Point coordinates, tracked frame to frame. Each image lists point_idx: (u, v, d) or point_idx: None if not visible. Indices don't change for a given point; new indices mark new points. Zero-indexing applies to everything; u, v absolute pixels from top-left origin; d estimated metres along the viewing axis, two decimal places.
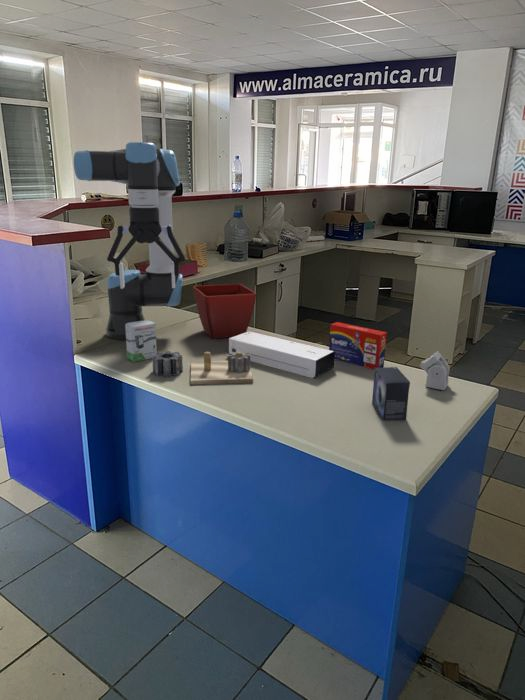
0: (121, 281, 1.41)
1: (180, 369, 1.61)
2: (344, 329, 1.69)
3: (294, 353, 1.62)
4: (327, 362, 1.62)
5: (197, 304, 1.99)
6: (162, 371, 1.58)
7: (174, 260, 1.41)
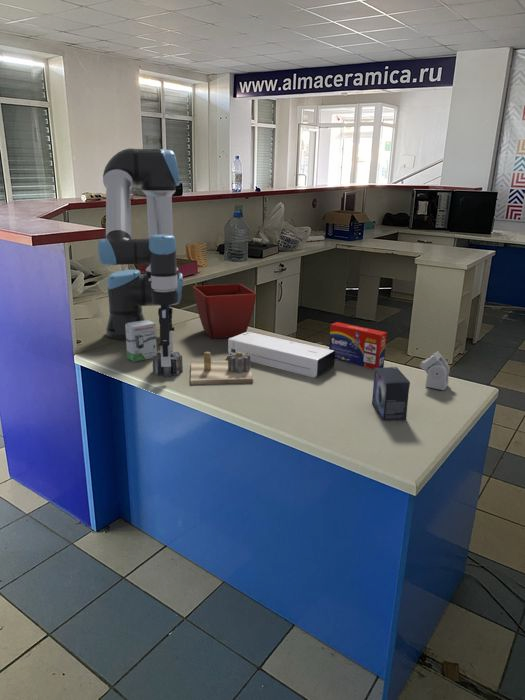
0: None
1: (180, 369, 1.61)
2: (344, 329, 1.69)
3: (295, 353, 1.62)
4: (328, 362, 1.63)
5: (197, 304, 1.99)
6: (162, 371, 1.58)
7: None
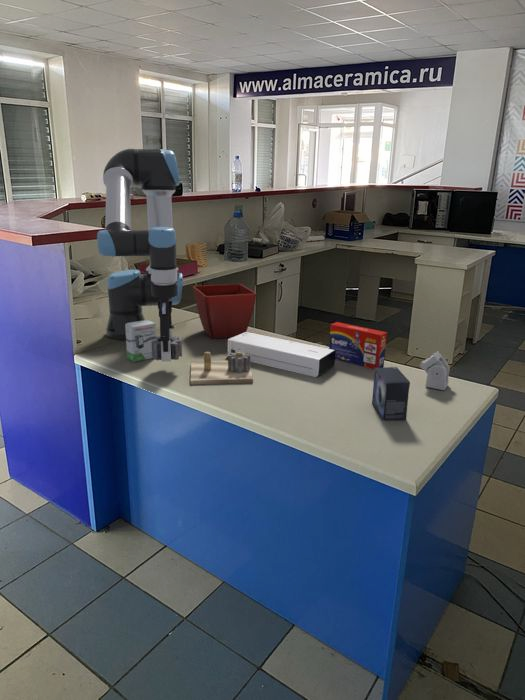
0: None
1: (179, 354, 1.60)
2: (344, 329, 1.69)
3: (296, 353, 1.62)
4: (329, 361, 1.63)
5: (197, 304, 1.99)
6: None
7: None
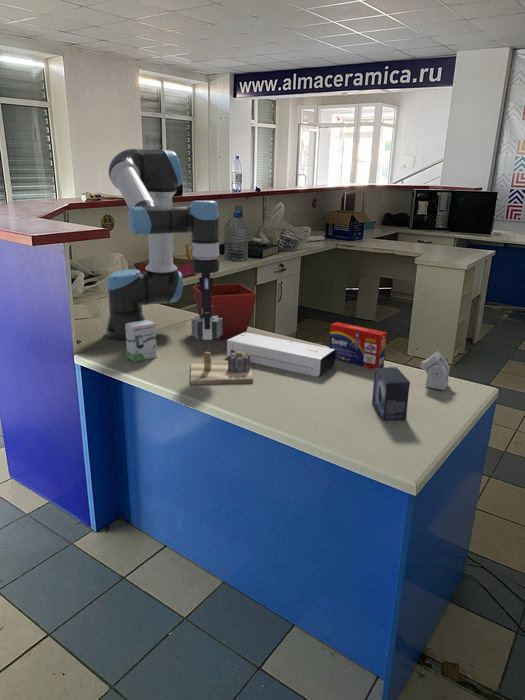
0: None
1: (220, 333, 1.55)
2: (344, 329, 1.69)
3: (297, 353, 1.62)
4: (329, 361, 1.64)
5: (197, 304, 1.99)
6: (202, 334, 1.53)
7: (202, 314, 1.48)
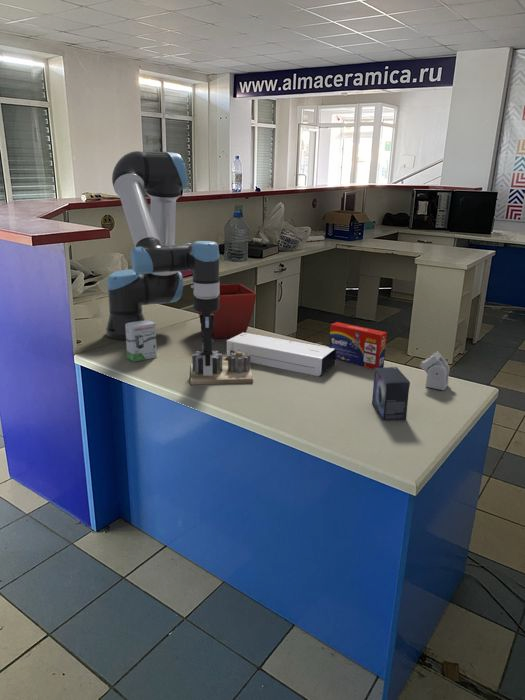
0: None
1: (220, 368, 1.59)
2: (344, 329, 1.69)
3: (298, 352, 1.62)
4: (330, 360, 1.64)
5: None
6: (202, 370, 1.56)
7: None
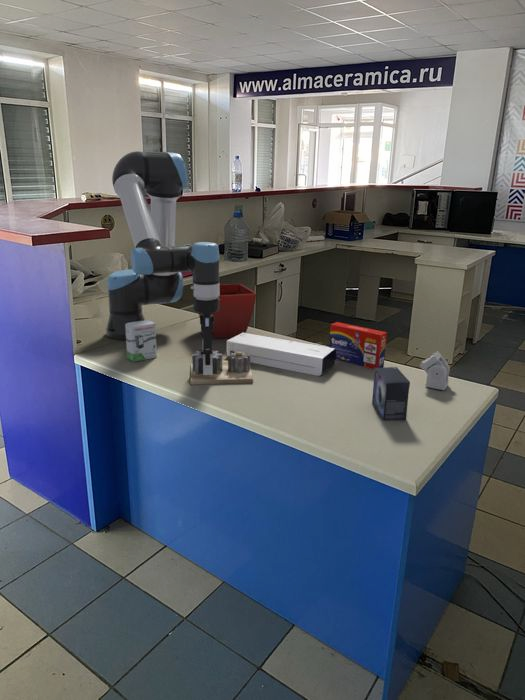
0: None
1: (220, 368, 1.59)
2: (344, 329, 1.69)
3: (298, 352, 1.62)
4: (330, 360, 1.64)
5: None
6: (202, 370, 1.56)
7: (203, 350, 1.50)
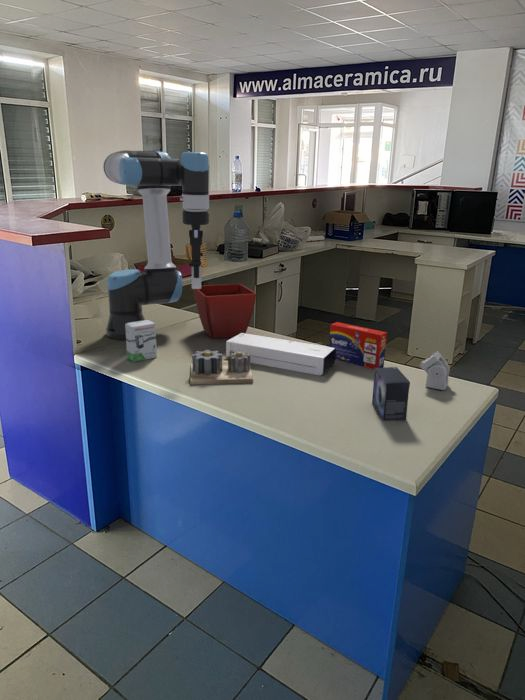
0: None
1: (220, 368, 1.59)
2: (344, 329, 1.69)
3: (299, 352, 1.63)
4: (331, 359, 1.65)
5: (197, 304, 1.99)
6: (202, 370, 1.56)
7: None
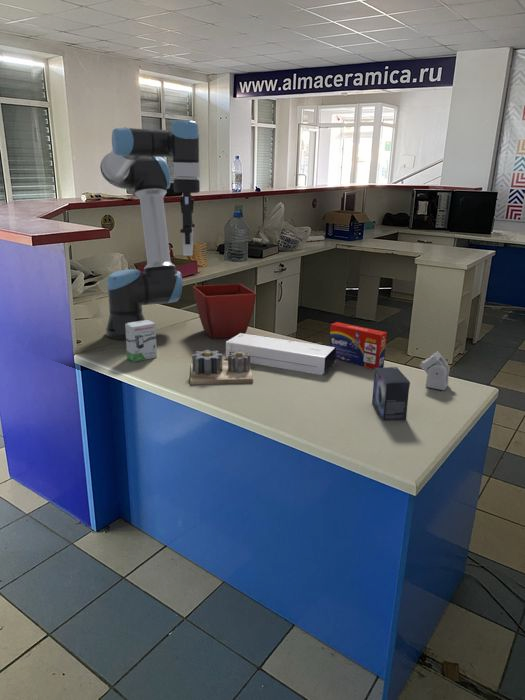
0: None
1: (220, 368, 1.59)
2: (344, 329, 1.69)
3: (300, 352, 1.63)
4: (331, 359, 1.65)
5: (197, 304, 1.99)
6: (202, 370, 1.56)
7: None
